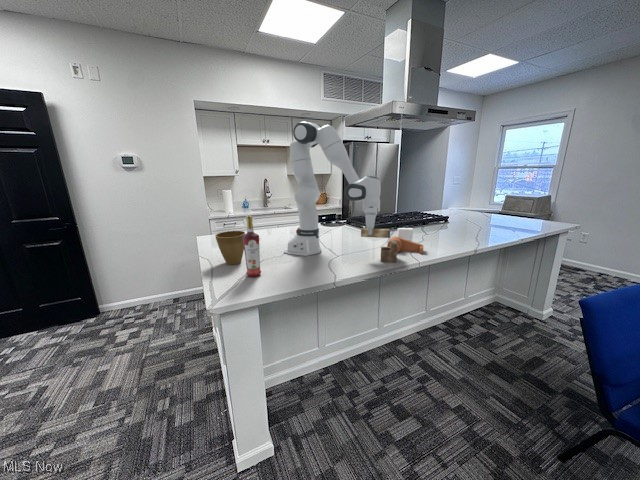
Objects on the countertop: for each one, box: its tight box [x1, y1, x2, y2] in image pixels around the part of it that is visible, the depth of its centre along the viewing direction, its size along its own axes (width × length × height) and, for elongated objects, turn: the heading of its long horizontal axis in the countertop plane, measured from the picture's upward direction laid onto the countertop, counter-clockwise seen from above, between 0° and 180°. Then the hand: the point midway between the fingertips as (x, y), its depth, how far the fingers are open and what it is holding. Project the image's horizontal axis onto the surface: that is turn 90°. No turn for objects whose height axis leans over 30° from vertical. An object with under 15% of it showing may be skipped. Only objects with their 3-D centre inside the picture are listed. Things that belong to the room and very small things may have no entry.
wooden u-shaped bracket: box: [380, 240, 398, 264], centre depth 140 cm, size 8×8×10 cm
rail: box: [360, 227, 391, 239], centre depth 140 cm, size 15×4×4 cm, turn 77°
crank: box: [386, 236, 424, 255], centre depth 155 cm, size 20×8×8 cm, turn 70°
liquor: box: [242, 215, 262, 278], centre depth 120 cm, size 7×7×28 cm
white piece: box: [396, 227, 414, 242], centre depth 162 cm, size 9×9×12 cm
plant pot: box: [215, 230, 246, 266], centre depth 139 cm, size 15×15×16 cm
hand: (370, 233), depth 140 cm, fingers closed on rail, 3 cm apart
